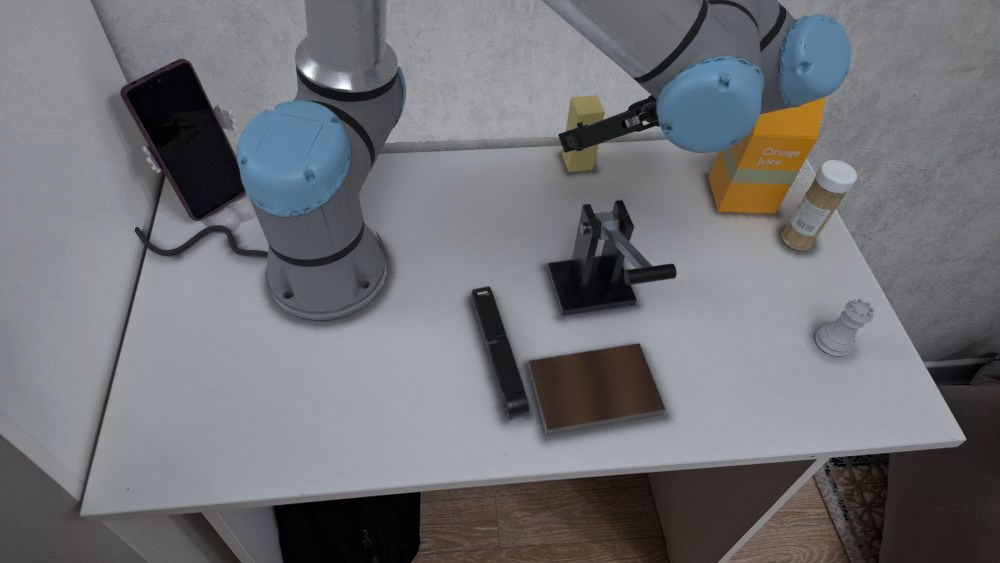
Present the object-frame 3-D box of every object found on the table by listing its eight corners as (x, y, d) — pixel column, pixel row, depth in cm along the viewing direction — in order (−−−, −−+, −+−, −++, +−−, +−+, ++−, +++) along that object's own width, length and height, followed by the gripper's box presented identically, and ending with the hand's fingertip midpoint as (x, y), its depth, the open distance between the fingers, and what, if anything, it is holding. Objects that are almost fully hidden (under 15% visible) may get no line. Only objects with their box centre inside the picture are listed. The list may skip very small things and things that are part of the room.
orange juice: (775, 214, 92) (839, 102, 76) (717, 212, 92) (768, 99, 76) (763, 178, 97) (820, 65, 81) (707, 176, 97) (753, 63, 81)
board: (545, 435, 70) (547, 430, 68) (527, 366, 75) (528, 360, 74) (662, 415, 72) (665, 409, 71) (636, 349, 77) (639, 343, 76)
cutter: (635, 305, 81) (660, 235, 70) (561, 316, 80) (576, 246, 69) (616, 258, 86) (637, 186, 75) (546, 268, 84) (558, 195, 73)
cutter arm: (675, 284, 62) (678, 263, 61) (628, 291, 61) (630, 270, 60) (620, 227, 75) (621, 209, 74) (581, 233, 75) (581, 214, 74)
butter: (568, 172, 96) (578, 114, 87) (561, 155, 99) (570, 97, 90) (592, 169, 97) (605, 112, 88) (585, 152, 99) (597, 95, 90)
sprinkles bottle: (818, 243, 89) (866, 174, 78) (797, 256, 87) (843, 187, 77) (793, 223, 91) (836, 153, 81) (773, 236, 90) (814, 166, 79)
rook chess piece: (812, 350, 78) (842, 315, 72) (814, 323, 80) (844, 286, 74) (848, 363, 77) (882, 328, 71) (850, 335, 80) (883, 299, 73)
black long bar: (529, 418, 71) (531, 406, 68) (507, 423, 70) (508, 412, 68) (489, 295, 81) (490, 282, 79) (470, 299, 81) (470, 285, 78)
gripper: (633, 163, 66) (539, 182, 85) (790, 91, 75) (673, 123, 94) (610, 94, 64) (520, 130, 83) (773, 29, 73) (658, 75, 92)
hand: (601, 126), depth 89 cm, fingers open, 13 cm apart
